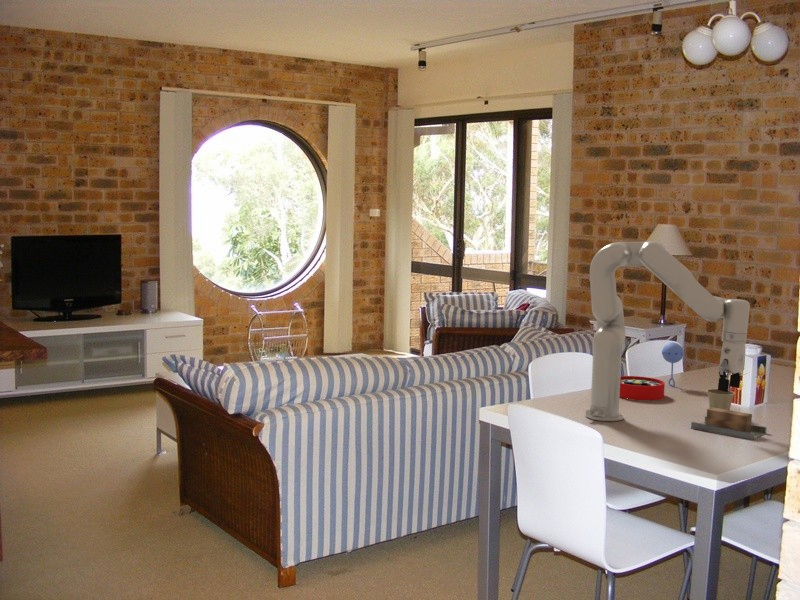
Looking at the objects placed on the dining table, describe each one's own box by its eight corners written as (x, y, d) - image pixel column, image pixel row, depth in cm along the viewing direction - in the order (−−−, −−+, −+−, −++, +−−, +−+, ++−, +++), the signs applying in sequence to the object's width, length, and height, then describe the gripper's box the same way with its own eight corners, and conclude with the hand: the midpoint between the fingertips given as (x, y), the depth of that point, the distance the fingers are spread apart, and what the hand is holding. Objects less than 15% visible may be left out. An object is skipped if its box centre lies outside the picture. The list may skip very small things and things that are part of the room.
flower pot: (732, 414, 312) (733, 390, 311) (734, 420, 303) (736, 395, 302) (704, 411, 314) (705, 388, 313) (705, 417, 305) (707, 393, 304)
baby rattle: (655, 384, 363) (658, 341, 361) (673, 383, 365) (676, 340, 363) (667, 388, 354) (670, 344, 353) (686, 387, 357) (688, 343, 355)
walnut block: (706, 427, 290) (707, 409, 289) (711, 424, 293) (712, 407, 293) (745, 434, 281) (746, 416, 281) (750, 432, 285) (752, 414, 284)
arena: (752, 439, 276) (752, 433, 276) (691, 428, 289) (691, 422, 289) (766, 433, 285) (766, 427, 285) (706, 422, 299) (706, 416, 298)
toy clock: (654, 388, 326) (603, 381, 337) (653, 403, 326) (602, 396, 338) (671, 380, 342) (622, 373, 353) (671, 395, 343) (621, 388, 354)
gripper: (735, 341, 275) (730, 394, 277) (755, 336, 288) (749, 387, 290) (712, 337, 280) (706, 390, 282) (732, 333, 293) (727, 383, 295)
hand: (728, 389), depth 286 cm, fingers open, 9 cm apart
